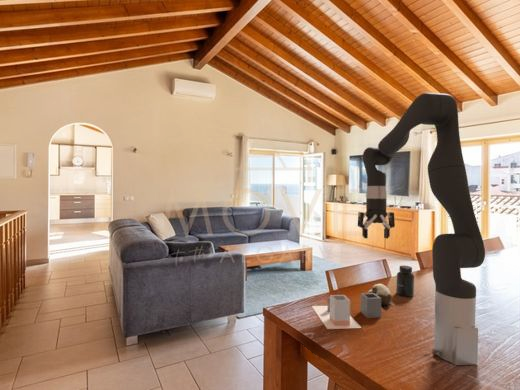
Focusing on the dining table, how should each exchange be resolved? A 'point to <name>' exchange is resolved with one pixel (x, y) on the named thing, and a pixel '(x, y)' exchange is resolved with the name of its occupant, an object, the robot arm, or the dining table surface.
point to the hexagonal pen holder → (339, 310)
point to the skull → (382, 294)
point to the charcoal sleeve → (370, 305)
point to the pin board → (325, 317)
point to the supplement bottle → (405, 282)
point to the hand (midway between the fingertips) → (376, 238)
